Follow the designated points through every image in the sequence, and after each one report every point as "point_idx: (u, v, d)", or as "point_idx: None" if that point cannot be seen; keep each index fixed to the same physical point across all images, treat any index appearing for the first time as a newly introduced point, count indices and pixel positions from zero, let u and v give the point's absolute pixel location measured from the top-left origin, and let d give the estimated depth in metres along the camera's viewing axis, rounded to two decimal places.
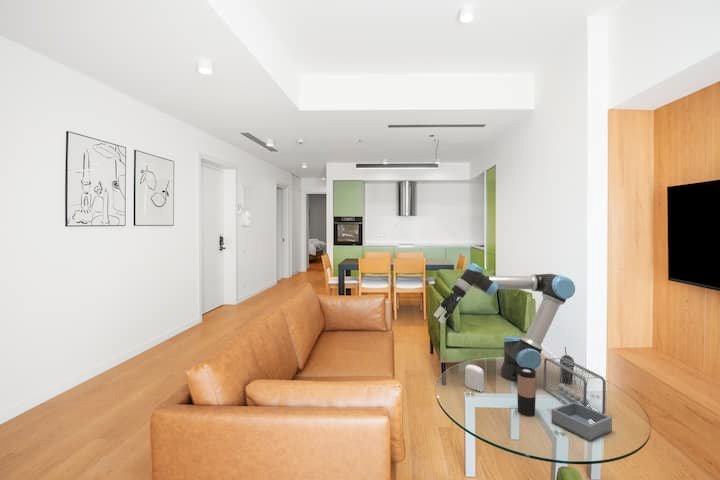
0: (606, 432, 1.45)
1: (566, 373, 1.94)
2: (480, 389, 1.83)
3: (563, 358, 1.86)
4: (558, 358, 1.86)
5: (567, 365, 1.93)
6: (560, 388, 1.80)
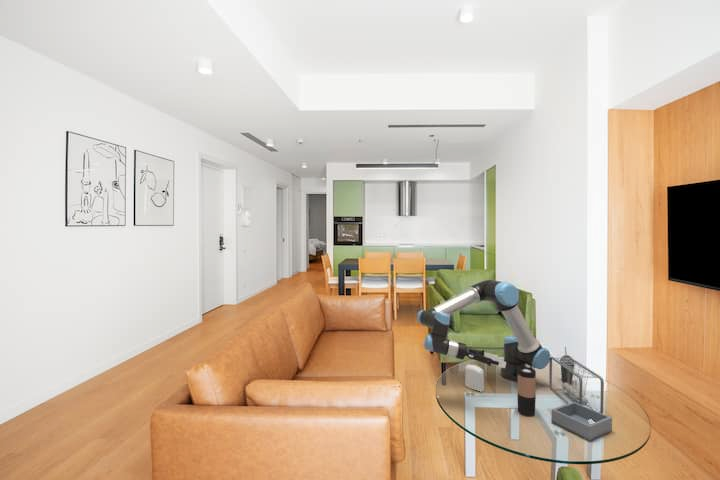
0: (606, 432, 1.45)
1: (566, 373, 1.94)
2: (480, 389, 1.83)
3: (569, 358, 1.86)
4: (564, 358, 1.86)
5: (567, 365, 1.93)
6: (564, 387, 1.81)
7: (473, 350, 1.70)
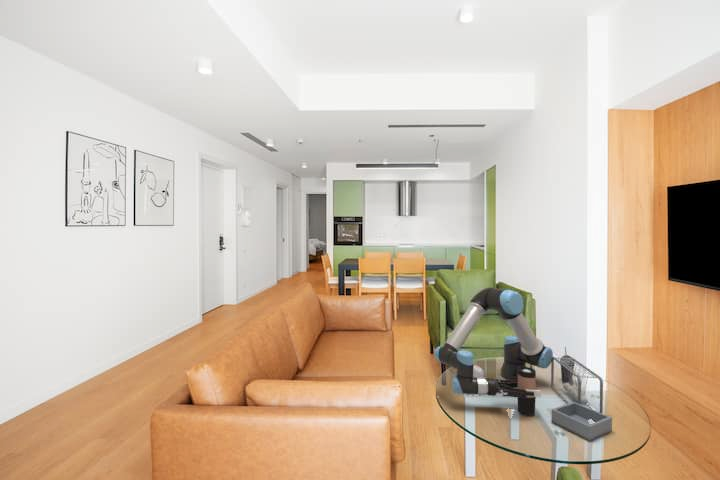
0: (606, 432, 1.45)
1: (566, 373, 1.94)
2: None
3: (571, 358, 1.86)
4: (566, 358, 1.86)
5: None
6: (565, 387, 1.81)
7: (504, 383, 1.65)
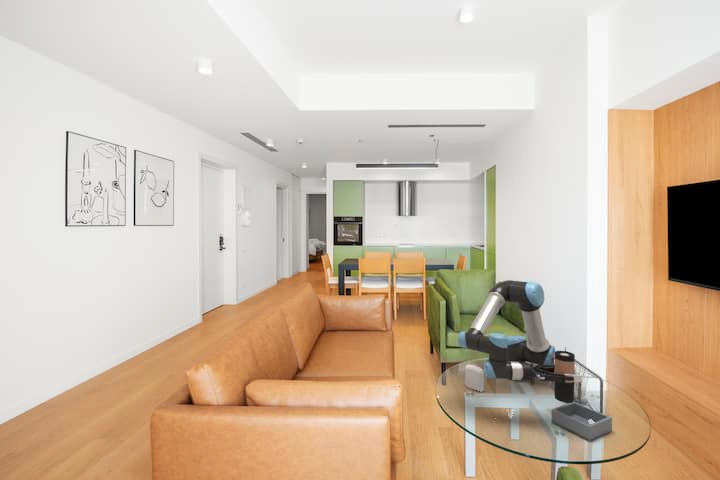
0: (606, 432, 1.45)
1: None
2: (480, 389, 1.83)
3: None
4: None
5: None
6: None
7: (539, 368, 1.55)
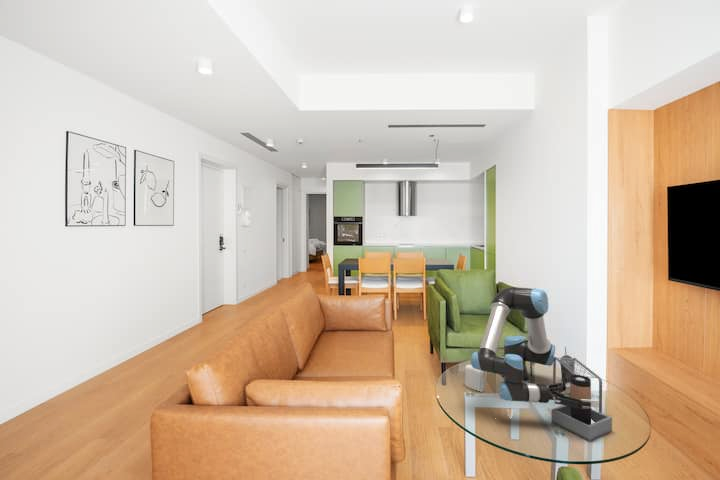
0: (606, 432, 1.45)
1: None
2: (480, 389, 1.83)
3: (574, 358, 1.85)
4: (568, 358, 1.86)
5: None
6: None
7: (555, 389, 1.53)
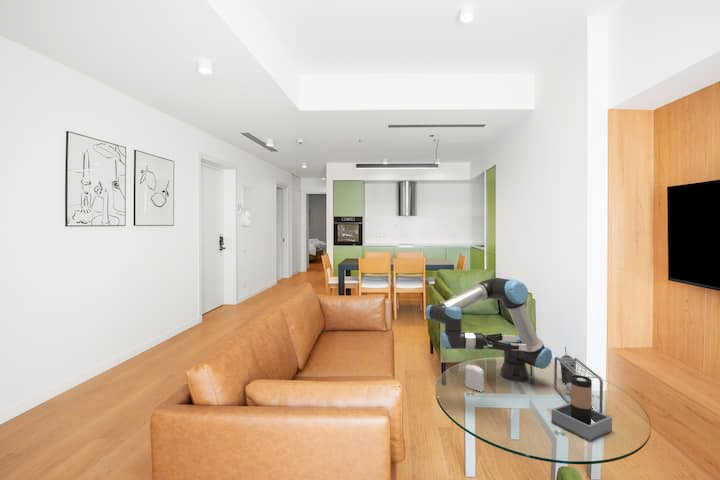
0: (606, 432, 1.45)
1: (566, 373, 1.94)
2: (480, 389, 1.83)
3: (575, 359, 1.85)
4: (569, 358, 1.86)
5: (567, 365, 1.93)
6: (567, 387, 1.81)
7: (491, 337, 1.67)
